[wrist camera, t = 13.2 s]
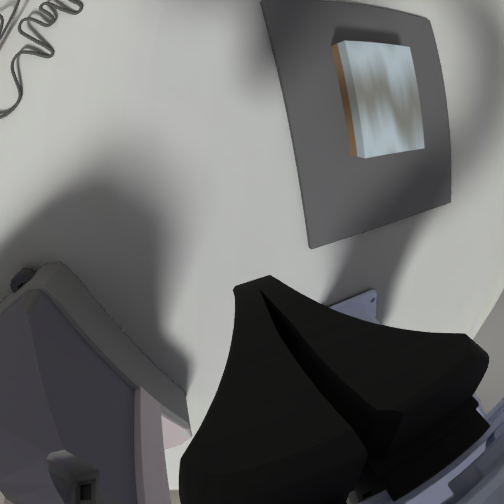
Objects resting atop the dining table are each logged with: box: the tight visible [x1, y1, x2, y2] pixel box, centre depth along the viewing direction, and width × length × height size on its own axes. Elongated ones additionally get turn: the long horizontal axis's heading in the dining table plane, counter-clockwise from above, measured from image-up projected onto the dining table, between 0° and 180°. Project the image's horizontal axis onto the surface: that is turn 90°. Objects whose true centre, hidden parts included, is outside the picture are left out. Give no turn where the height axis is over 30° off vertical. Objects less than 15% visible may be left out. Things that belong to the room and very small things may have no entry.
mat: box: [260, 0, 451, 249], centre depth 18 cm, size 18×16×1 cm
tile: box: [331, 41, 425, 158], centre depth 17 cm, size 8×2×6 cm
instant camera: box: [0, 262, 192, 504], centre depth 14 cm, size 21×21×15 cm
